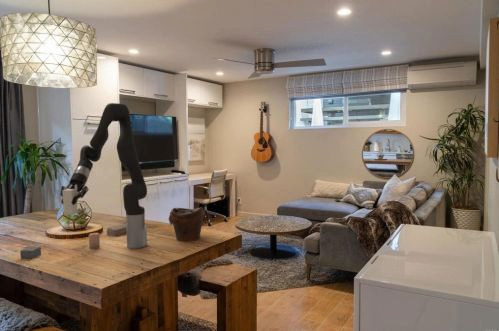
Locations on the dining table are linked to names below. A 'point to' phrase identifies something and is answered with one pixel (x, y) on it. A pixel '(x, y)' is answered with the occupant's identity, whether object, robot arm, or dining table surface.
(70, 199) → the tall cream block
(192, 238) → the dark brown pot
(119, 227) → the brick
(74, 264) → the dining table surface
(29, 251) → the grey squat block
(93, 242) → the pink rounded pebble
